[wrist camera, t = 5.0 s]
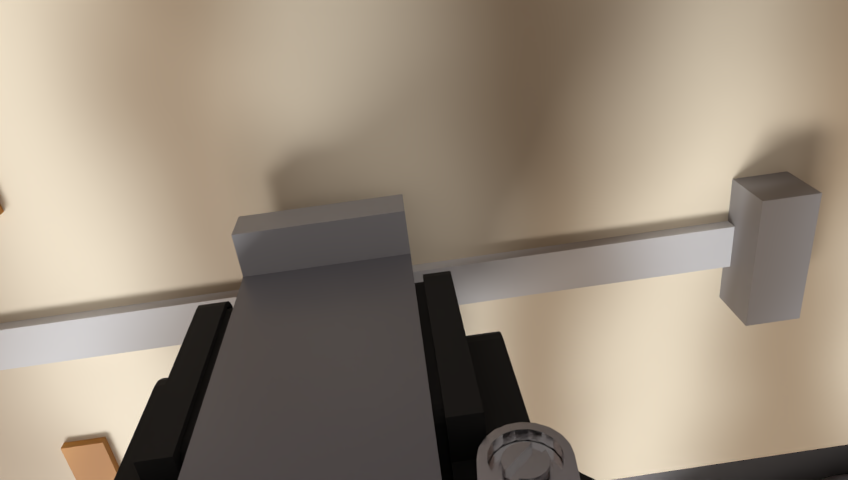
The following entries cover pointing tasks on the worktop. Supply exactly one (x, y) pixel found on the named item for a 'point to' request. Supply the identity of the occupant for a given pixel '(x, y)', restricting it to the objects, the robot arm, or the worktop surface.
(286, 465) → the fader
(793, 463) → the worktop surface
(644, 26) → the console
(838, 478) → the small grey backpack
